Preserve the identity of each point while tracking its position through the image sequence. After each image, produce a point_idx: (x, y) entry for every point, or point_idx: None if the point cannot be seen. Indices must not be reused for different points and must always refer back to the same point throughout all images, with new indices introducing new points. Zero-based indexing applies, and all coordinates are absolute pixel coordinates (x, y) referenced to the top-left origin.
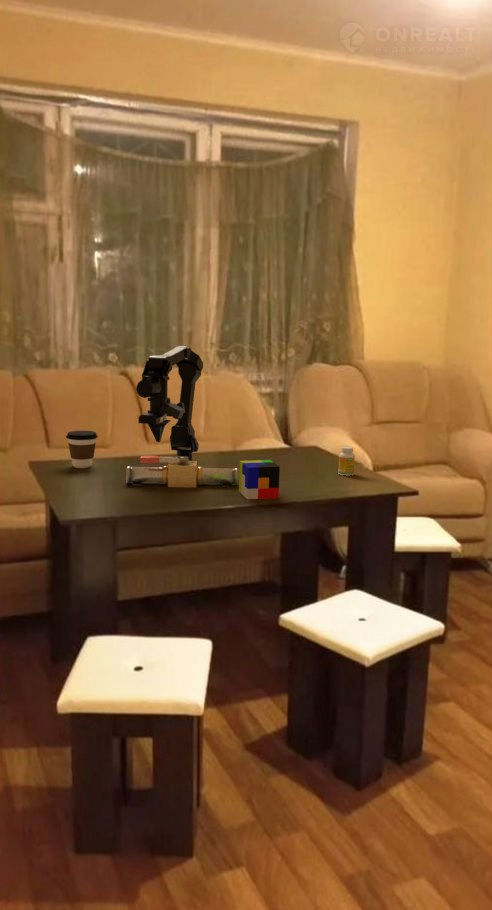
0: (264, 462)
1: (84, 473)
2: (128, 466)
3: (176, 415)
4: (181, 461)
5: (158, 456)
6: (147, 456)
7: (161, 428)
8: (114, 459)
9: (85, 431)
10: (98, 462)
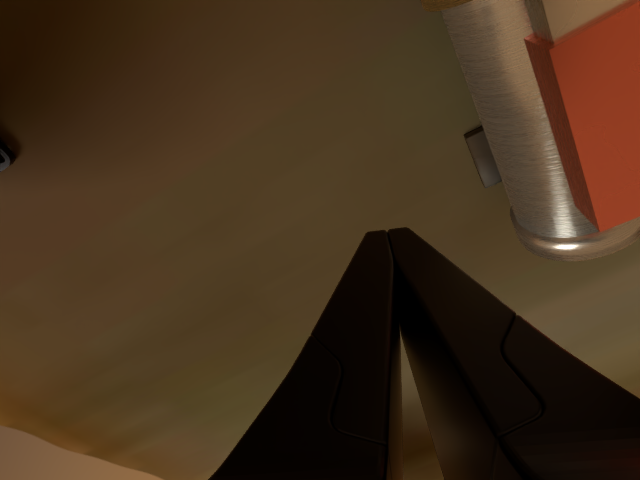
0: None
1: (417, 417)
2: (613, 241)
3: None
4: None
5: (593, 41)
6: (629, 158)
7: (503, 403)
8: (125, 450)
9: None
10: (215, 461)
